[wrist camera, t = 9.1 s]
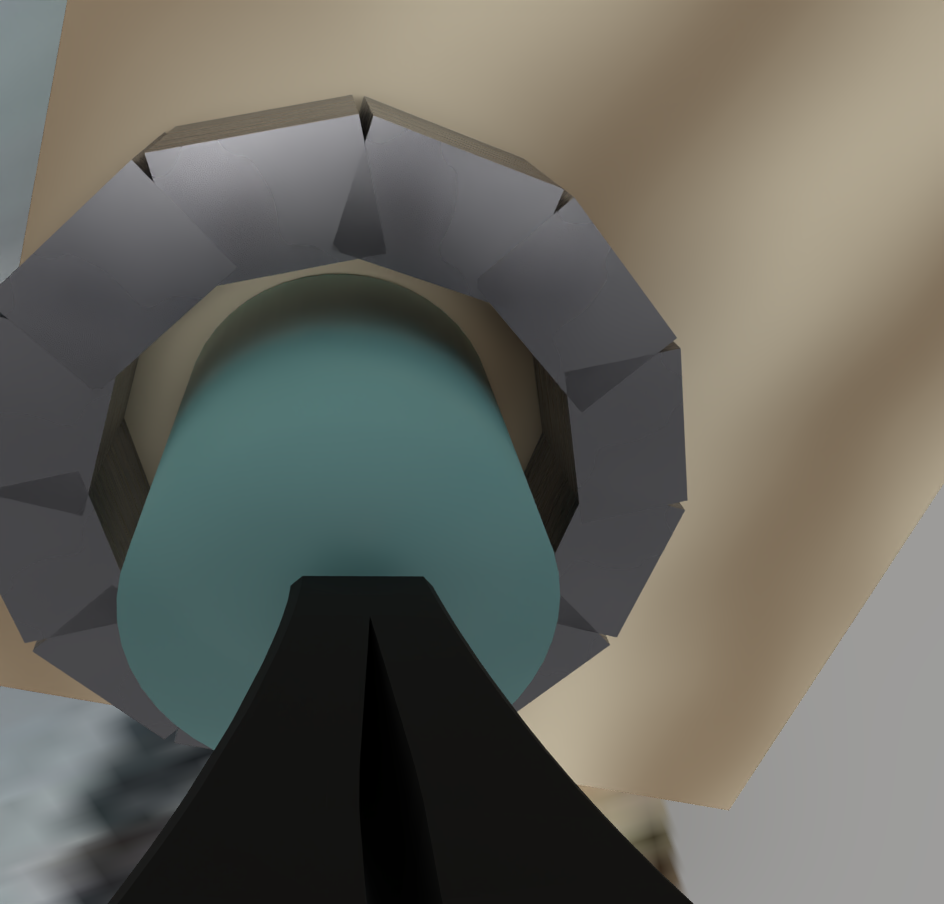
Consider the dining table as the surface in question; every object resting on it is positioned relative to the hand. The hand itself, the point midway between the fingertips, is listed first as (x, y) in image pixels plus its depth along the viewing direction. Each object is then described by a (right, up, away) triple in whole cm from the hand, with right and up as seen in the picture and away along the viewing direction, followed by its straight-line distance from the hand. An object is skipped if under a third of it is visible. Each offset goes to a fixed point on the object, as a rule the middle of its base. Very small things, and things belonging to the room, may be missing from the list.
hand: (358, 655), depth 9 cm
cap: (-1, +3, +5) cm, 6 cm away
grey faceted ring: (-1, +3, +5) cm, 6 cm away
